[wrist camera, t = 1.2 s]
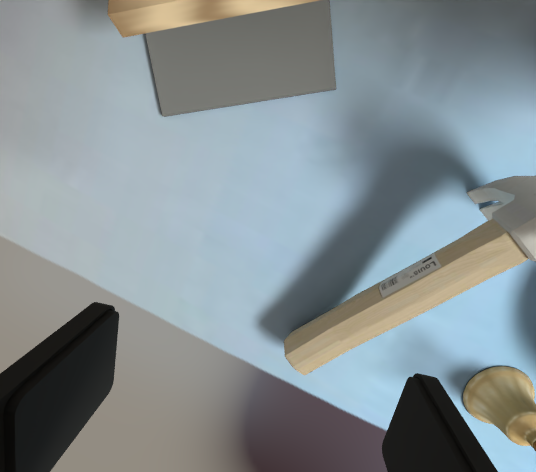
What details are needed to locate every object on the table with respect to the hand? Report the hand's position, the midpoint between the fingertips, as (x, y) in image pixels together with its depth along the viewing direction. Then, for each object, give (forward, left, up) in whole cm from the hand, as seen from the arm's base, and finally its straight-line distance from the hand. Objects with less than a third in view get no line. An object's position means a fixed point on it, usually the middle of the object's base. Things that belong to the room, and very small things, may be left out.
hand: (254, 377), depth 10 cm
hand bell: (-24, +26, -27) cm, 44 cm away
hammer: (-12, +8, -27) cm, 30 cm away
